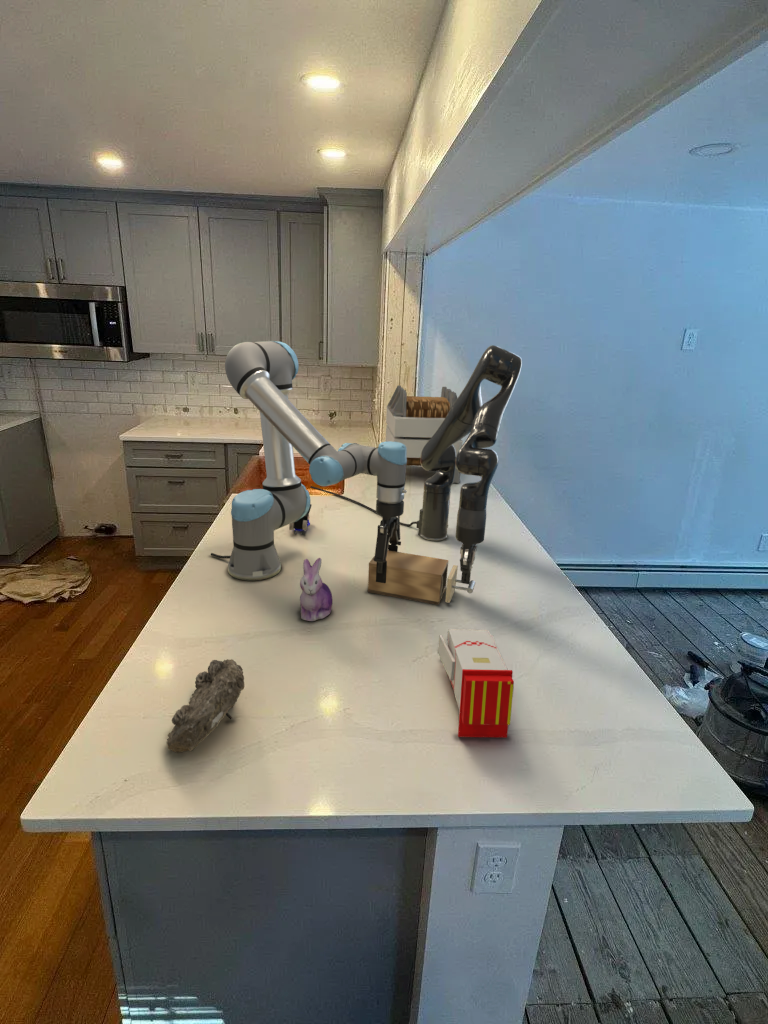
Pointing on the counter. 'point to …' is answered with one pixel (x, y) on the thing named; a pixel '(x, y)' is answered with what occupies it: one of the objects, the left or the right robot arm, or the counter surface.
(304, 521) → the figurine character
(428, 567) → the cabinet
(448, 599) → the drawer
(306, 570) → the figurine
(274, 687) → the counter surface
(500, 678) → the toy
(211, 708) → the fossil
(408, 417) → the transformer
